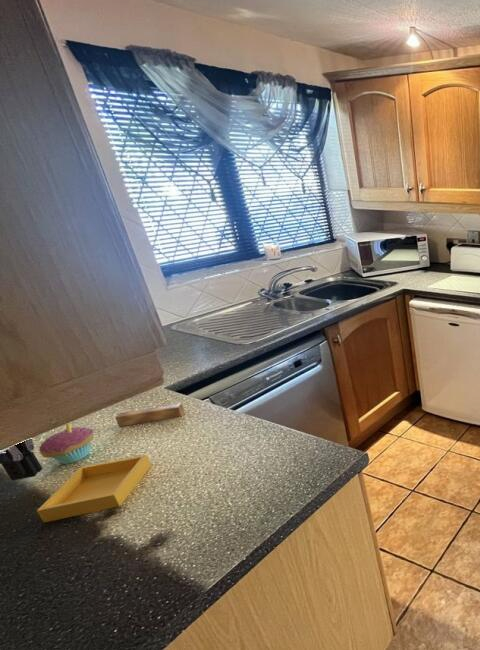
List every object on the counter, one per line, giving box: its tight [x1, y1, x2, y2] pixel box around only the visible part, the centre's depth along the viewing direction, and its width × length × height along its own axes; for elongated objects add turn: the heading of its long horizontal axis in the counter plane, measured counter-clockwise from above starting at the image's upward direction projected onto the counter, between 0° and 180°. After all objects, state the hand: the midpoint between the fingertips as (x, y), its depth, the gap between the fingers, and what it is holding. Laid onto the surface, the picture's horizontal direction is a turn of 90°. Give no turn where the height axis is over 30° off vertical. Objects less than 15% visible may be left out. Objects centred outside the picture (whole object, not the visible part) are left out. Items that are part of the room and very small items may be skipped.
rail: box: [114, 403, 185, 427], centre depth 104 cm, size 14×2×3 cm, turn 108°
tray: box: [36, 454, 152, 523], centre depth 81 cm, size 12×12×3 cm
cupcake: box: [38, 423, 94, 465], centre depth 89 cm, size 9×8×12 cm
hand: (27, 474), depth 66 cm, fingers closed
